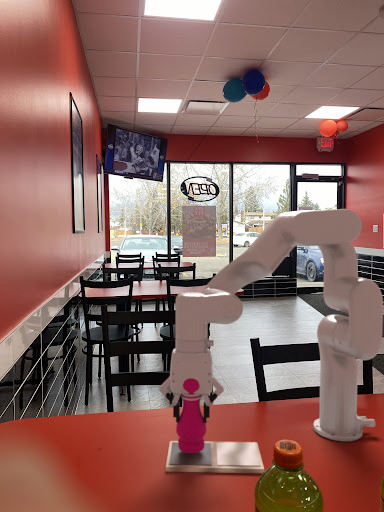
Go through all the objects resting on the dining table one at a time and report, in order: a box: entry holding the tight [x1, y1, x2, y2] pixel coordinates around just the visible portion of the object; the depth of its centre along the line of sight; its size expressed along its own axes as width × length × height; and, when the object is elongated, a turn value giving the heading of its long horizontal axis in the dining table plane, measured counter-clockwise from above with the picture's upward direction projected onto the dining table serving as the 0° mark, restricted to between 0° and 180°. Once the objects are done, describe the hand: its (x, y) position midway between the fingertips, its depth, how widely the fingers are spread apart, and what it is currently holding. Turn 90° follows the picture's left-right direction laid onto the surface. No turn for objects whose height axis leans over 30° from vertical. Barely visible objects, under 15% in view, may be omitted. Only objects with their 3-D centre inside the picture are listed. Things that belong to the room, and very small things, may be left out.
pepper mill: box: [175, 378, 207, 453], centre depth 98 cm, size 7×7×20 cm
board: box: [165, 440, 265, 474], centre depth 98 cm, size 22×12×1 cm, turn 88°
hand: (191, 419), depth 98 cm, fingers closed on pepper mill, 5 cm apart
